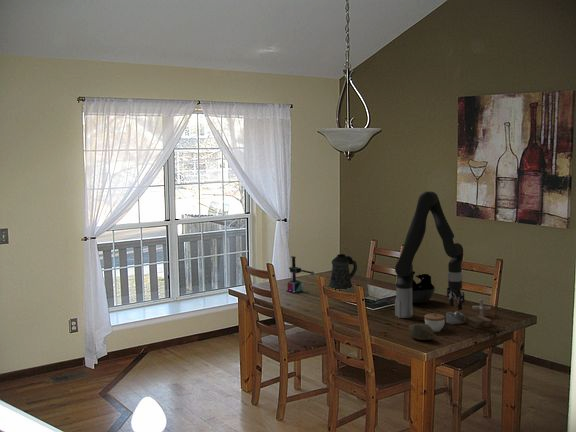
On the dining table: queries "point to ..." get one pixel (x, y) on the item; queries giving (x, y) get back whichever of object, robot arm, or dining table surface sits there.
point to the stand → (478, 322)
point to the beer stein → (342, 272)
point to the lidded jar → (435, 321)
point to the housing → (454, 317)
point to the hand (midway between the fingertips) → (455, 308)
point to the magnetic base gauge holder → (295, 284)
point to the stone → (421, 331)
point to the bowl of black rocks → (422, 289)
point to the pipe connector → (481, 307)
